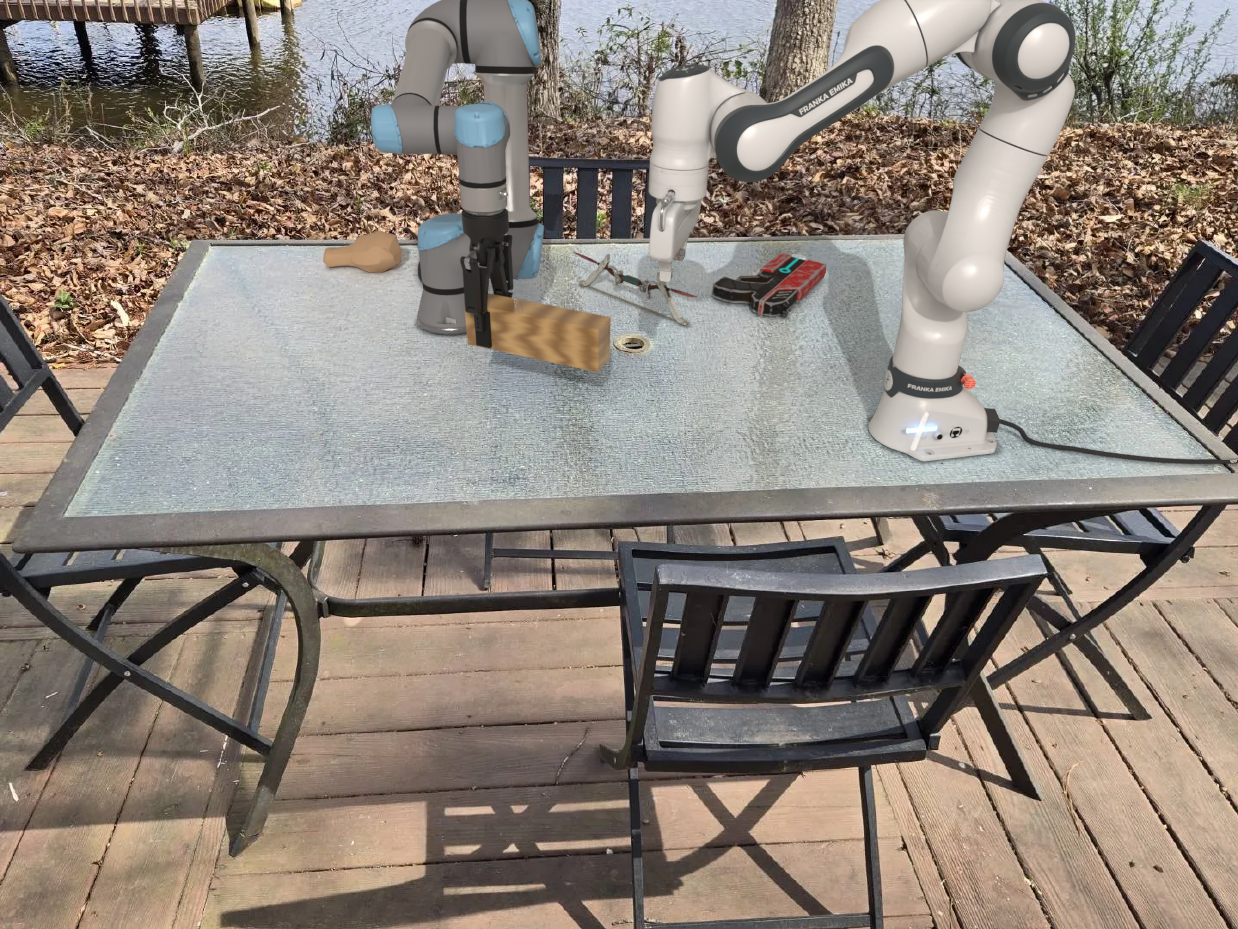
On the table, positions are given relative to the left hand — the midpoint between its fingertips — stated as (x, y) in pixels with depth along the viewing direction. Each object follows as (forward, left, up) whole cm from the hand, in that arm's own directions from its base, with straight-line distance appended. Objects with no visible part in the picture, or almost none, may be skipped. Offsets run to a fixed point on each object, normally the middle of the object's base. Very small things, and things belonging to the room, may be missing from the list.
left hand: (492, 338), depth 155 cm
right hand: (+26, +17, +16) cm, 35 cm away
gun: (-3, +87, -16) cm, 88 cm away
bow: (-20, +55, -16) cm, 61 cm away
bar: (+8, +4, -1) cm, 9 cm away
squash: (-81, +20, -16) cm, 85 cm away
